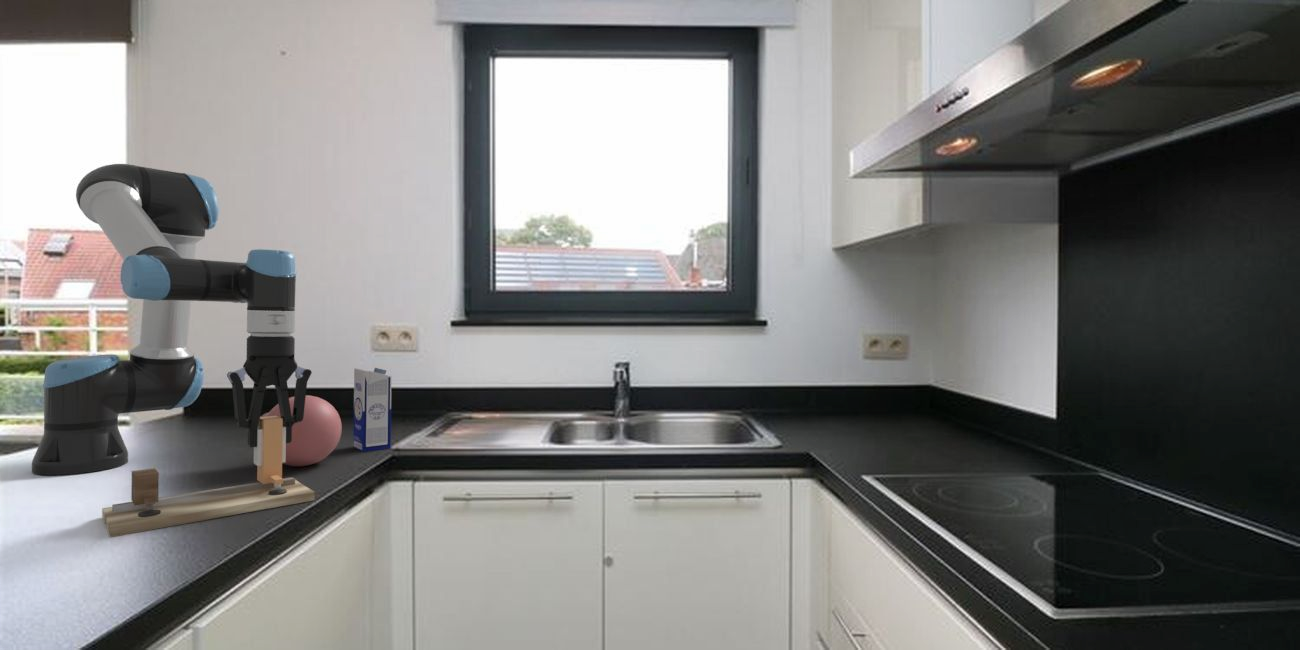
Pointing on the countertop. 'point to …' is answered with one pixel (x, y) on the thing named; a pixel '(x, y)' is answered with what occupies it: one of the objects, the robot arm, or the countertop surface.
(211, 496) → the wooden slotted board
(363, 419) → the milk carton
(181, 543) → the countertop surface
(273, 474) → the orange wooden block
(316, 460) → the balloon
